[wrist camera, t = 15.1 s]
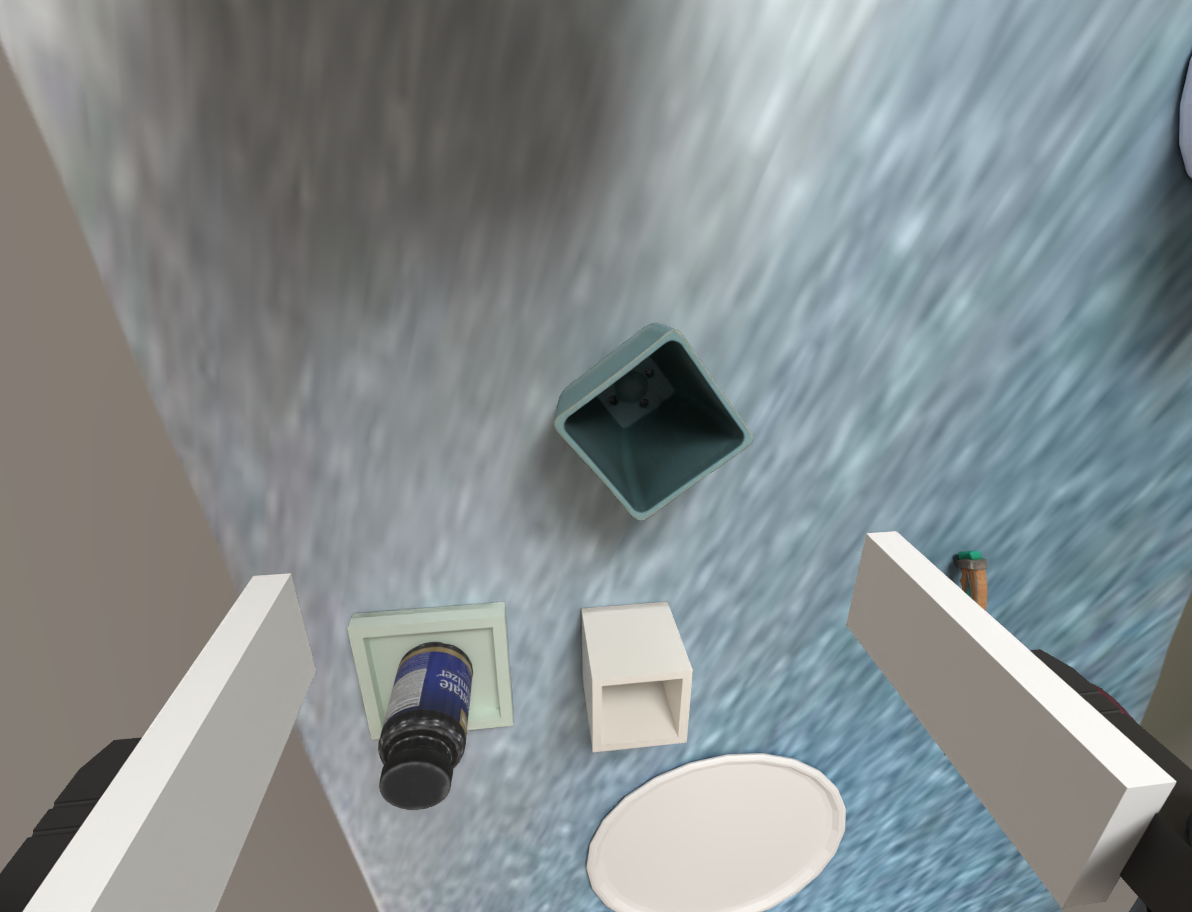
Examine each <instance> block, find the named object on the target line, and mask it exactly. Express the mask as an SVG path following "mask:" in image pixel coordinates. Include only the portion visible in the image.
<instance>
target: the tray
mask: <svg viewBox="0 0 1192 912" xmlns="http://www.w3.org/2000/svg"><path fill="white" fill-rule="evenodd" d="M347 630H348V634H349V639H350V644H351V648H352V653H353V657H354V662H355V666H356V671H357V675H358V680H359V684H360V689H361V693H362V698H363V703H364V707H365V712H366V716H367V721H368V725H369V730H370V734H371V739H372V740H376V739H380V736H381V731H382V728H383V724H384V720H385V716H386V713H387V708H388V705H389V701H390V697H391V693H392V689H393V686H394V682H395V678H396V674H397V670H398V667H399V664H400V662H401V659H402V658H403V656H404V655H405V654H406V653H407V652H408V651H410V650H411V649H413V648H415V647H417V646H419V645H421V644H424V643H428V642H442V643H445V644H450V645H454V646H456V647H458V648H460V649H461V650H462V651H463V652H464V653H465V654H466V655H467V656H468V658H469V659H470V661H471V663H472V668H473V677H472V686H471V696H470V706H469V716H468V725H467V730H475V729H485V728H495V727H505V726H513V698H512V685H511V673H510V660H509V648H508V635H507V623H506V610H505V602H496V603H483V604H470V605H457V606H444V607H432V608H419V609H406V610H393V611H380V612H367V613H354V614H353V615H352V618H351V620H350V623H349V626H348V628H347Z"/></svg>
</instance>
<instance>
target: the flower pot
mask: <svg viewBox="0 0 1192 912" xmlns="http://www.w3.org/2000/svg"><path fill="white" fill-rule="evenodd" d="M647 369H652V370H653V373H652V375H650V376H648V375H646V373H645V372H646V370H647ZM612 396H614V397H616V402H614V403H611V402H610V401H609V398H610V397H612ZM643 399H646V400H647V403H646V405H641V404H640V402H641V400H643ZM554 428H555V430H556V431H557V432H558V433H559V435H560V436H561V437H562V438H563V439H564V440H565V441H566V442H567V443H568V444H569V445H570V446H571V448H572V449H573V450H574V451H575V452H576V453H577V454H578V455H579V456H580V457H581V458H582V459H583V461H584V462H585V463H586V464H587V465H588V466H589V467H590V468H591V470H592V471H593V472H594V473H595V474H596V475H597V476H598V477H599V479H600V480H601V481H602V482H603V483H604V484H605V485H606V486H607V488H608V489H609V490H610V491H611V492H612V493H613V494H614V496H615V497H616V498H617V499H618V500H619V502H620V503H621V504H622V505H623V506H624V507H625V509H626V510H627V511H628V512H629V513H630V515H631V516H632V517H634V518H635V519H636V520H638V521H643V520H645V519H647V518H649V517H650V516H652V515H653V514H654V513H656V512H657V511H658V510H660V509H661V508H662V507H664V506H665V505H667V504H668V503H669V502H671V501H672V500H673V499H675V498H676V497H678V496H679V495H680V494H682V493H684V492H685V491H686V490H688V489H689V488H690V487H692V486H693V485H695V484H696V483H698V482H699V481H700V480H702V479H703V478H705V477H706V476H707V475H709V474H710V473H712V472H713V471H715V470H716V469H718V468H719V467H721V466H722V465H723V464H725V463H726V462H727V461H729V460H730V459H732V458H733V457H735V456H736V455H738V454H739V453H741V452H742V451H744V450H745V449H746V448H747V447H748V446H749V445H750V444H751V443H752V442H753V435H752V433H751V431H750V430H749V428H748V427H747V426H746V424H745V423H744V421H743V420H742V419H741V417H740V416H739V415H738V413H737V412H736V411H735V409H734V408H733V406H732V405H731V404H730V402H729V401H728V399H727V398H726V397H725V395H724V394H723V392H722V391H721V390H720V388H719V387H718V385H717V384H716V382H715V381H714V379H713V378H712V376H711V375H710V374H709V372H708V371H707V369H706V368H705V366H704V365H703V363H702V362H701V360H700V359H699V357H698V356H697V355H696V353H695V352H694V350H693V349H692V347H691V346H690V344H689V343H688V341H687V340H686V338H685V337H684V335H683V334H682V333H681V332H680V331H679V330H676V329H673V328H671V327H668V326H665V325H662V324H658V323H652V324H649V325H647V326H645V327H644V328H642V329H641V330H640V331H638V332H637V333H636V334H635V335H634V336H632V337H631V338H630V339H628V340H627V341H626V342H625V343H623V344H622V345H621V346H619V347H618V348H617V349H616V350H614V351H613V352H612V353H611V354H609V355H608V356H607V357H605V358H604V359H603V360H602V361H600V362H599V363H598V364H596V365H595V366H594V367H592V368H591V369H590V370H589V371H587V372H586V373H585V374H583V375H582V376H581V377H579V378H578V379H576V380H575V381H574V382H572V383H571V384H570V385H569V386H568V387H567V388H566V389H565V390H564V391H563V392H562V394H561V396H560V398H559V401H558V405H557V410H556V414H555V419H554Z"/></svg>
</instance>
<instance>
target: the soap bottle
mask: <svg viewBox="0 0 1192 912" xmlns="http://www.w3.org/2000/svg"><path fill="white" fill-rule="evenodd" d="M1179 145H1180V149H1181V153H1182V157H1183V160H1184V164H1185V168H1186V171H1187V174H1188V175H1189V176H1190V177H1191V178H1192V57H1191V59H1190V63H1189V68H1188V72H1187V76H1186V81H1185V85H1184V90H1183V94H1182V99H1181V103H1180V133H1179Z"/></svg>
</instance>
